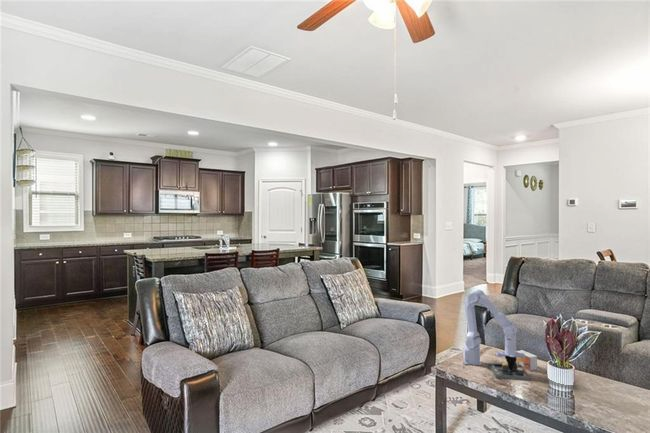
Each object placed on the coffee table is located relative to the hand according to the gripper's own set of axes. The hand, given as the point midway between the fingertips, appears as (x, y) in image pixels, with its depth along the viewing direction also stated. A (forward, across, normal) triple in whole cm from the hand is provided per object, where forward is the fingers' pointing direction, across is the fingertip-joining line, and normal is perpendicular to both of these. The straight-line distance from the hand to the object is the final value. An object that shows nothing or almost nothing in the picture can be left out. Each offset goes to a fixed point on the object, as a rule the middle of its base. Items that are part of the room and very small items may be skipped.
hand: (510, 369), depth 212 cm
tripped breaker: (+1, -3, 0) cm, 3 cm away
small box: (-2, +9, +15) cm, 18 cm away
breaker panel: (+2, -1, 0) cm, 2 cm away
